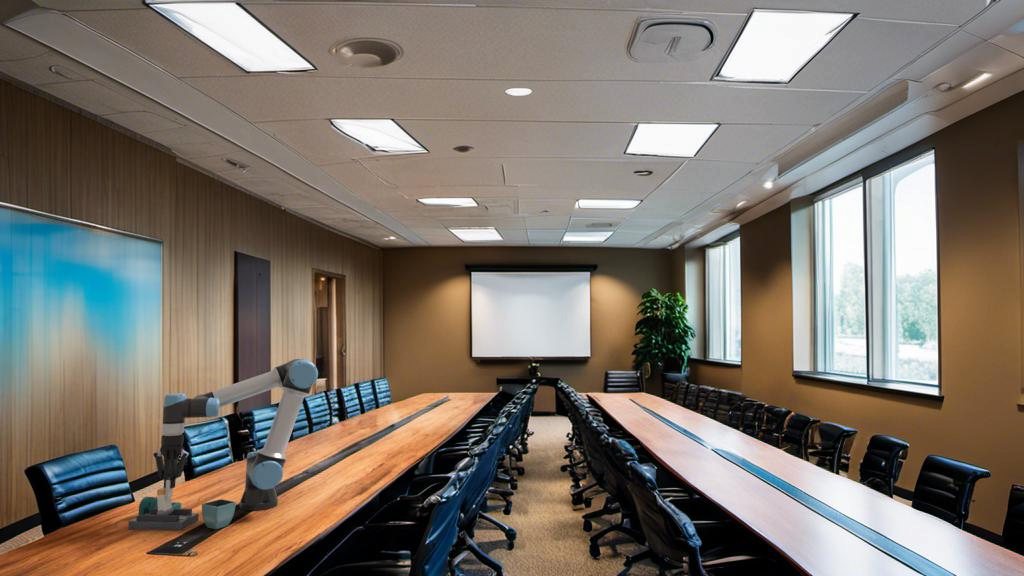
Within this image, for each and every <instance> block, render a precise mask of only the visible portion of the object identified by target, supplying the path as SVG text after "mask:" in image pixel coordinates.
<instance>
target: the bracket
mask: <svg viewBox="0 0 1024 576" xmlns="http://www.w3.org/2000/svg"><path fill="white" fill-rule="evenodd" d="M171 502H172V507H173V508H178V509H182V503H181V502H177V501H175V502H173V501H171ZM153 508H158V501H157V496H156V497H154V496H145V497H143V498H142V499H141V500H140V502H139V506H138V512H137V513H138V515H143V514H145V513H148V512H151V509H153ZM138 515H137V516H138Z"/></svg>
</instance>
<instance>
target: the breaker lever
mask: <svg viewBox="0 0 1024 576" xmlns="http://www.w3.org/2000/svg"><path fill="white" fill-rule="evenodd" d="M165 491H166V488H164V486H163V487H162V488H159V489H156V497H157V501H158V512H157V514H156V515H169V514H171V513H172V512H173V507H172V502H173V501H172V497H169V498H165Z"/></svg>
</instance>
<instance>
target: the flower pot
mask: <svg viewBox="0 0 1024 576" xmlns="http://www.w3.org/2000/svg"><path fill="white" fill-rule="evenodd" d="M236 504H237V501H234V500H227V499H222V498H220V499H215V500H213V501H209V502H204V503H202V504H201V512H202V513H201V514H202V520H203V522H204V524H205V526H206V527H207V528H210V529H212V530H213V529H214V530H219V529H221V528H225V527H227V526H229V524H230V523H231V522H232V519H233V518H234V514H235V510H236Z"/></svg>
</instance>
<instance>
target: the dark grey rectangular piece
mask: <svg viewBox="0 0 1024 576" xmlns="http://www.w3.org/2000/svg"><path fill="white" fill-rule="evenodd" d="M157 512H158V508H153V509H151V514H157ZM192 513H193V509H192V508H181V509H178V508H173V512H172V513H171V514H174V515H136V518H137V519H136V521H172V522H177V521H178V520H179V515H190V514H192Z"/></svg>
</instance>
